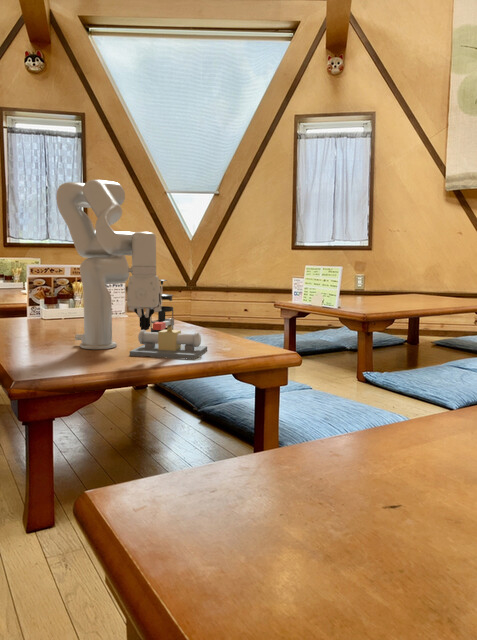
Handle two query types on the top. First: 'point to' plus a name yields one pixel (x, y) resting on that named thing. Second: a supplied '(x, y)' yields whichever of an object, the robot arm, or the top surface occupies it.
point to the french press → (163, 309)
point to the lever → (163, 324)
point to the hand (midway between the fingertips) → (145, 329)
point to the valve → (169, 344)
